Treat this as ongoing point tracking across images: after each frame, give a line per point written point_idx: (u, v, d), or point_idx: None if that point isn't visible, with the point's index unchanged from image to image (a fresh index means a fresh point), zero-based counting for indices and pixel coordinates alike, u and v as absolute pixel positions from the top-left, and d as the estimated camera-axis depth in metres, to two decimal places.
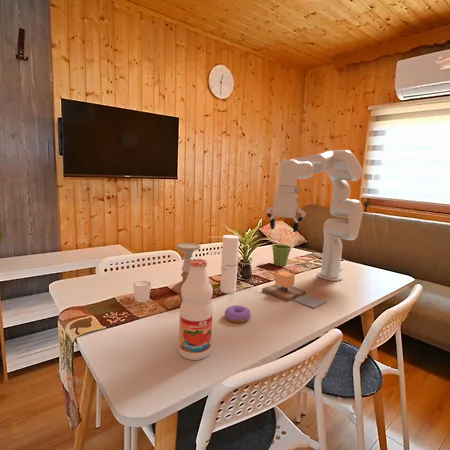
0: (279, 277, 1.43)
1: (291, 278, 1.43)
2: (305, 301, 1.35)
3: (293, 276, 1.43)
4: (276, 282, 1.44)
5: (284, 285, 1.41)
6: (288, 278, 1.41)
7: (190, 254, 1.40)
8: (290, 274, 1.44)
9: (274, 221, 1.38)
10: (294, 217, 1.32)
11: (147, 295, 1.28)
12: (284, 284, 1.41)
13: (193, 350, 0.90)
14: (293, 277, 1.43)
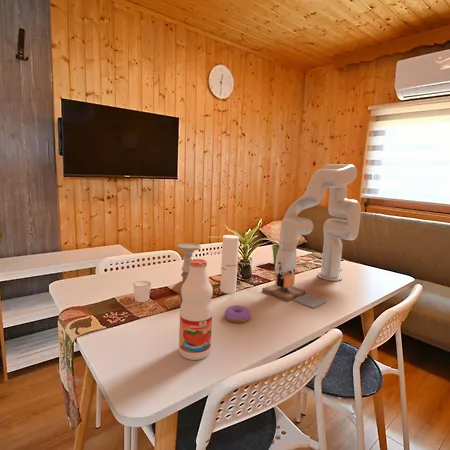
0: None
1: (291, 278, 1.43)
2: (305, 301, 1.35)
3: (293, 276, 1.43)
4: (276, 282, 1.44)
5: (284, 285, 1.41)
6: (288, 278, 1.41)
7: (190, 254, 1.40)
8: (290, 274, 1.44)
9: None
10: (292, 270, 1.45)
11: (147, 295, 1.28)
12: (284, 284, 1.41)
13: (193, 350, 0.90)
14: (293, 277, 1.43)
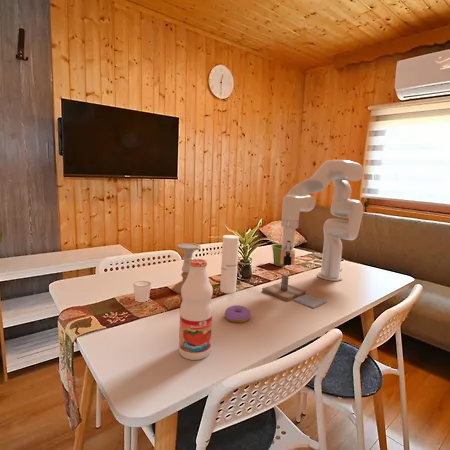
0: None
1: None
2: (305, 301, 1.35)
3: (294, 252, 1.44)
4: (281, 261, 1.41)
5: (292, 263, 1.40)
6: (294, 255, 1.41)
7: (190, 254, 1.40)
8: (292, 251, 1.43)
9: None
10: None
11: (147, 295, 1.28)
12: (292, 262, 1.40)
13: (193, 350, 0.90)
14: None
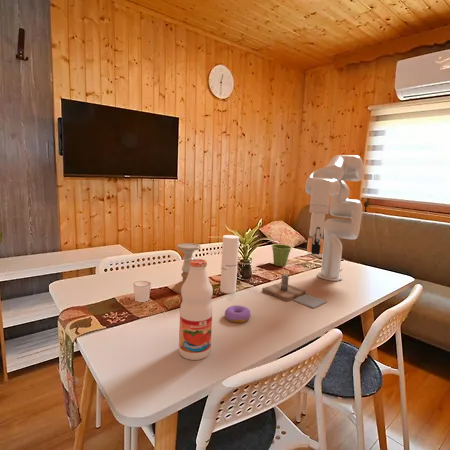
0: None
1: None
2: (305, 301, 1.35)
3: None
4: (309, 250, 1.31)
5: (320, 251, 1.30)
6: (323, 243, 1.30)
7: (190, 254, 1.40)
8: (320, 239, 1.33)
9: None
10: None
11: (147, 295, 1.28)
12: (320, 250, 1.30)
13: (193, 350, 0.90)
14: None
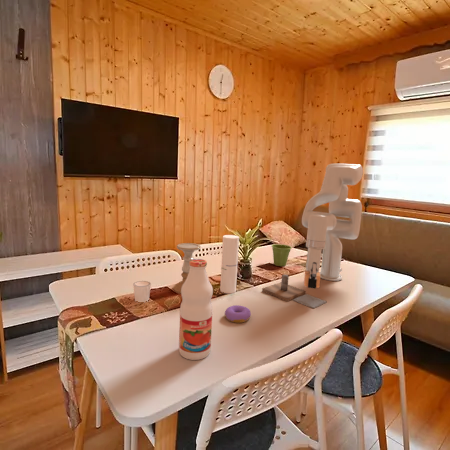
0: None
1: None
2: (305, 301, 1.35)
3: None
4: (306, 284, 1.33)
5: (317, 285, 1.32)
6: (319, 277, 1.33)
7: (190, 254, 1.40)
8: None
9: None
10: None
11: (147, 295, 1.28)
12: (317, 284, 1.32)
13: (193, 350, 0.90)
14: None
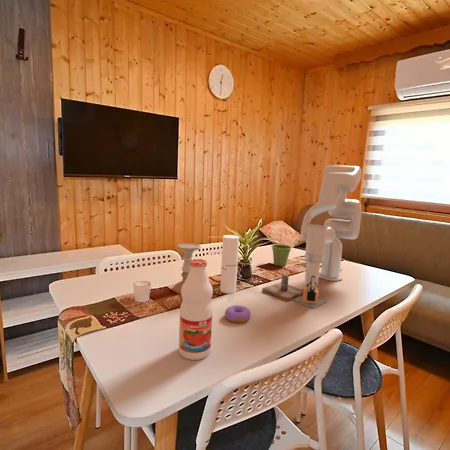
0: None
1: None
2: None
3: (317, 290, 1.37)
4: (304, 300, 1.34)
5: (315, 301, 1.33)
6: None
7: (190, 254, 1.40)
8: None
9: None
10: None
11: (147, 295, 1.28)
12: (315, 300, 1.33)
13: (193, 350, 0.90)
14: (317, 290, 1.38)
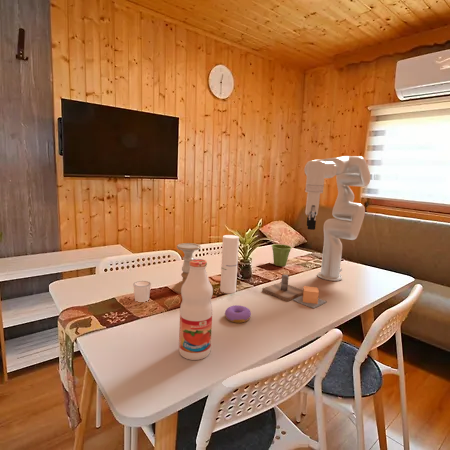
0: (308, 294, 1.34)
1: None
2: None
3: (317, 290, 1.37)
4: (304, 300, 1.34)
5: (315, 301, 1.33)
6: None
7: (190, 254, 1.40)
8: (315, 288, 1.37)
9: None
10: None
11: (147, 295, 1.28)
12: (315, 300, 1.33)
13: (193, 350, 0.90)
14: (317, 290, 1.38)
